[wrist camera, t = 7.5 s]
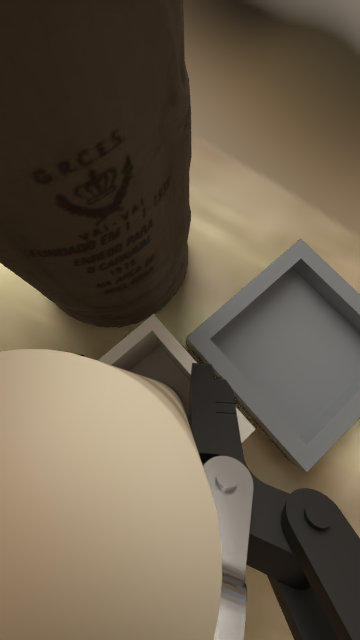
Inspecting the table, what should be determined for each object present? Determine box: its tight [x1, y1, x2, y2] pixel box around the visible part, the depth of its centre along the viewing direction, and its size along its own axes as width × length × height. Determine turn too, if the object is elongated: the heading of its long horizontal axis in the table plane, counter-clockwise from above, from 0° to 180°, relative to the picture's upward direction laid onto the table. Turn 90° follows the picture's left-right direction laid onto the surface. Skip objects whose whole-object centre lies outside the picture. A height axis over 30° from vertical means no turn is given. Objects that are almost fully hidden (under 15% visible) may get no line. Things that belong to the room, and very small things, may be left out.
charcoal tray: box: [186, 238, 360, 472], centre depth 19 cm, size 10×10×2 cm
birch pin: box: [0, 349, 222, 640], centre depth 11 cm, size 4×4×16 cm
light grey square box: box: [97, 314, 255, 443], centre depth 16 cm, size 7×7×6 cm
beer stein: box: [0, 0, 191, 327], centre depth 13 cm, size 15×11×20 cm
